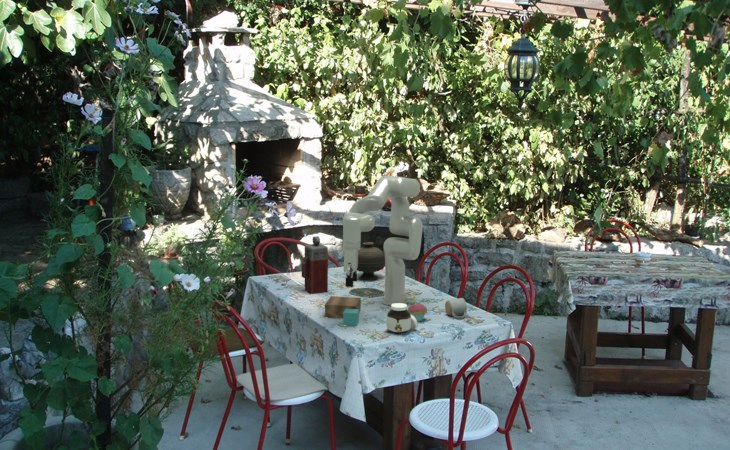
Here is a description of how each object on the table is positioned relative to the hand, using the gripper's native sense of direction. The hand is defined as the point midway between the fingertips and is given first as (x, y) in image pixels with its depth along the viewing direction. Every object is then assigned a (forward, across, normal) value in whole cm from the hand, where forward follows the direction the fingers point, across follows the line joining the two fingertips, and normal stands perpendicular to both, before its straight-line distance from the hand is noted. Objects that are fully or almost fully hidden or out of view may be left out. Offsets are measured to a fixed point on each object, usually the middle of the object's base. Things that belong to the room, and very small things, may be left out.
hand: (351, 283), depth 335 cm
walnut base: (+18, -14, -6) cm, 24 cm away
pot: (+18, -80, -4) cm, 82 cm away
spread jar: (+18, +5, +23) cm, 30 cm away
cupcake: (+18, -12, +28) cm, 36 cm away
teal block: (+18, 0, 0) cm, 18 cm away
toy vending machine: (+18, -49, -27) cm, 59 cm away
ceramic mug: (+18, -21, +46) cm, 53 cm away
